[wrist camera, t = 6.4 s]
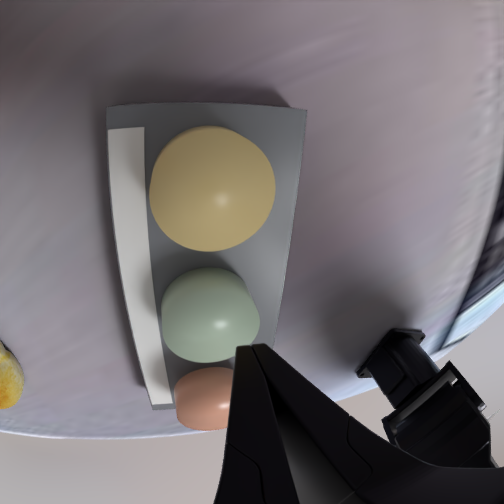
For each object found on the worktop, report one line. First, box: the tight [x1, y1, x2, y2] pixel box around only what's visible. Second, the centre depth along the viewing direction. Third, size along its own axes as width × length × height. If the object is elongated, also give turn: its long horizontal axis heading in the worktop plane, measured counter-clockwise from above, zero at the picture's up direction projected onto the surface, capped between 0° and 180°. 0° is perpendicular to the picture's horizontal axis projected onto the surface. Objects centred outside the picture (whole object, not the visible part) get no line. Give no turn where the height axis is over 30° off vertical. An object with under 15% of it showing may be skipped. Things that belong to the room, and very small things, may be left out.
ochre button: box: [149, 125, 276, 251], centre depth 13 cm, size 5×5×2 cm
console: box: [106, 102, 307, 410], centre depth 18 cm, size 9×21×2 cm, turn 175°
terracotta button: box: [174, 367, 233, 431], centre depth 19 cm, size 5×5×2 cm
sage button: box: [161, 267, 260, 363], centre depth 16 cm, size 5×5×2 cm
